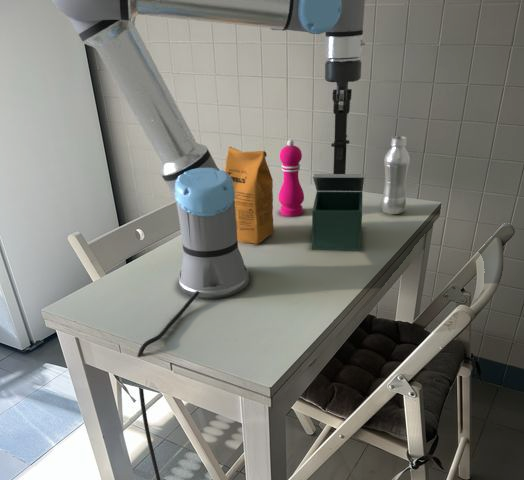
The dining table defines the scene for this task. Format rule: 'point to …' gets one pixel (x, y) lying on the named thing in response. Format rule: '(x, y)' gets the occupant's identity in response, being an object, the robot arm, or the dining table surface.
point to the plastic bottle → (395, 176)
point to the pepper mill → (291, 181)
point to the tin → (337, 220)
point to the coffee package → (251, 194)
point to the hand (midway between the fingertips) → (339, 174)
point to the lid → (339, 182)
